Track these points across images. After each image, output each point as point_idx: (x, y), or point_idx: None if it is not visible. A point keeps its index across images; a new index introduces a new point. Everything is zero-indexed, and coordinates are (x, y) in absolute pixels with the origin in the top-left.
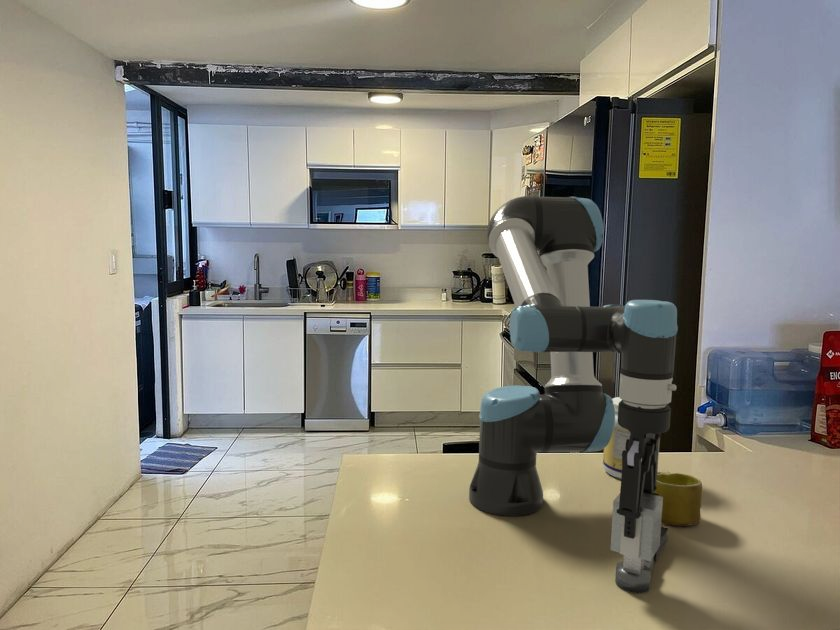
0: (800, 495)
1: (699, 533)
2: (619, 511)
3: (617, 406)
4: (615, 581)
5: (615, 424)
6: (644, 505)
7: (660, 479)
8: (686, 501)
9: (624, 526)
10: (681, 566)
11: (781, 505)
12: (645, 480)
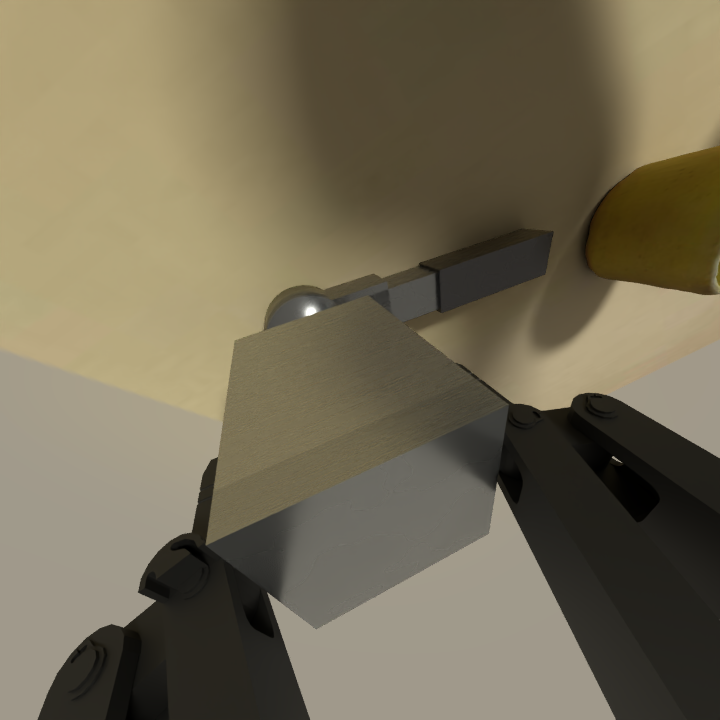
0: (712, 320)
1: (569, 291)
2: (51, 698)
3: None
4: (277, 296)
5: None
6: (334, 595)
7: None
8: (653, 274)
9: (196, 509)
10: (438, 338)
11: (682, 320)
12: (565, 587)
